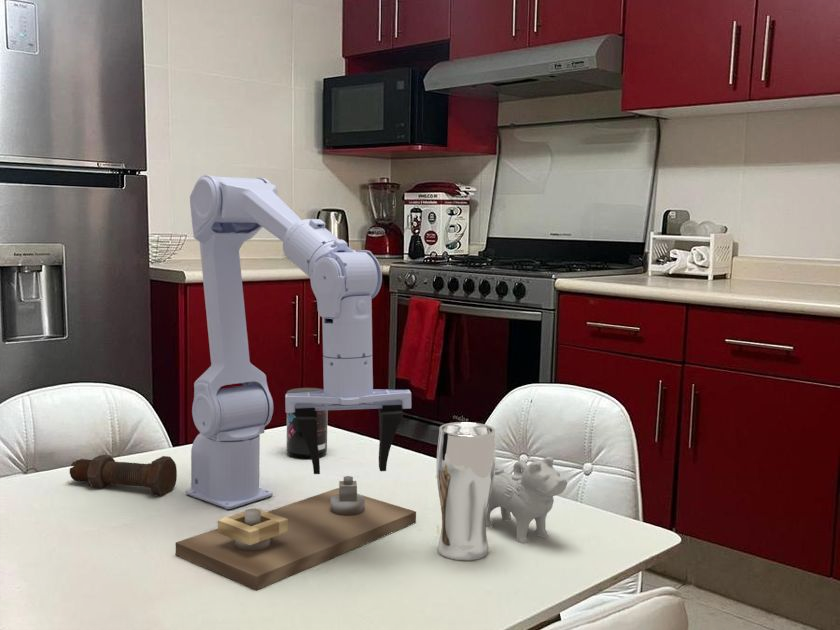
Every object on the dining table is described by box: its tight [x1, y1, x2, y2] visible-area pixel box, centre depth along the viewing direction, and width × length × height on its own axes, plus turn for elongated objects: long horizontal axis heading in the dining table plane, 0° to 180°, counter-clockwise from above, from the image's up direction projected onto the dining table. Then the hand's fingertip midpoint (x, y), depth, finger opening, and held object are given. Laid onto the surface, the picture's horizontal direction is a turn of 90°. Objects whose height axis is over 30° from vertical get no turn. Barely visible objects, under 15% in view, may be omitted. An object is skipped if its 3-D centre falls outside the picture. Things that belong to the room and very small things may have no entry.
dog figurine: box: [486, 456, 568, 545], centre depth 109 cm, size 5×13×11 cm, turn 40°
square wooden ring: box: [217, 507, 288, 545], centre depth 100 cm, size 6×6×2 cm
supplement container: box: [286, 387, 329, 460], centre depth 142 cm, size 7×7×10 cm
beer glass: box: [436, 421, 497, 562], centre depth 103 cm, size 7×7×15 cm
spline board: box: [175, 475, 417, 591], centre depth 106 cm, size 27×14×6 cm, turn 142°
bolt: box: [69, 454, 178, 498], centre depth 123 cm, size 6×5×15 cm
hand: (349, 470), depth 101 cm, fingers open, 7 cm apart
